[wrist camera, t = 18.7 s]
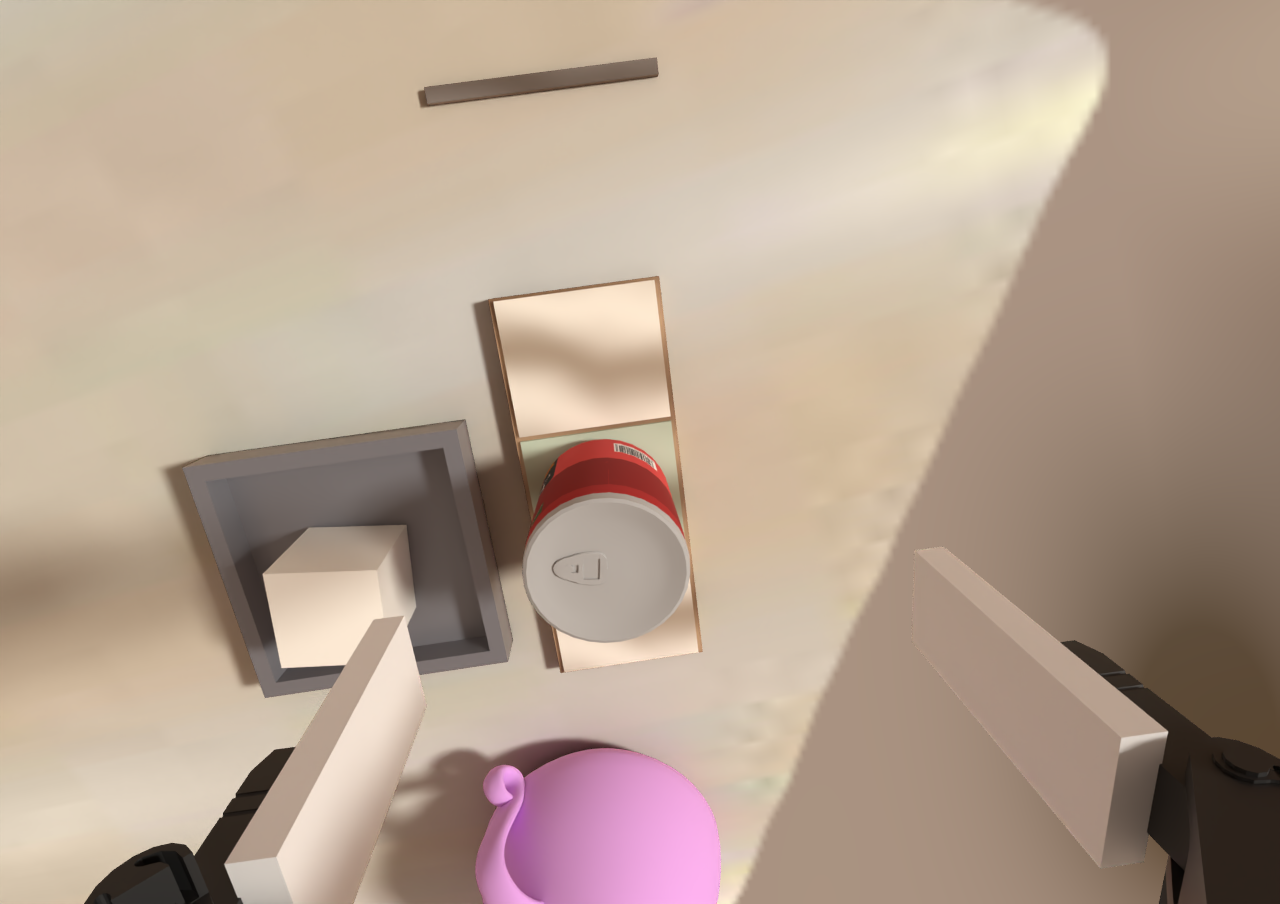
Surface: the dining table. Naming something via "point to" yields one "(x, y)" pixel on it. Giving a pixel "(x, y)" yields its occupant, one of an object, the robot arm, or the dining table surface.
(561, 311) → the board
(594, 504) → the canned food
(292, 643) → the cream cube
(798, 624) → the dining table surface
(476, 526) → the dice tray
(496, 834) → the teapot
